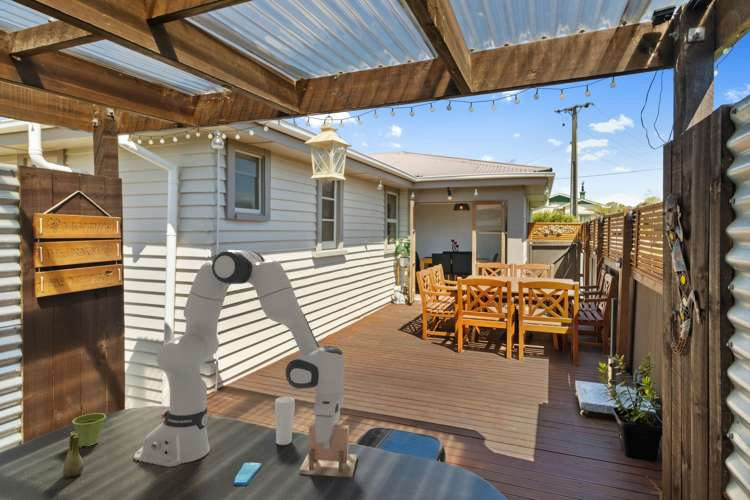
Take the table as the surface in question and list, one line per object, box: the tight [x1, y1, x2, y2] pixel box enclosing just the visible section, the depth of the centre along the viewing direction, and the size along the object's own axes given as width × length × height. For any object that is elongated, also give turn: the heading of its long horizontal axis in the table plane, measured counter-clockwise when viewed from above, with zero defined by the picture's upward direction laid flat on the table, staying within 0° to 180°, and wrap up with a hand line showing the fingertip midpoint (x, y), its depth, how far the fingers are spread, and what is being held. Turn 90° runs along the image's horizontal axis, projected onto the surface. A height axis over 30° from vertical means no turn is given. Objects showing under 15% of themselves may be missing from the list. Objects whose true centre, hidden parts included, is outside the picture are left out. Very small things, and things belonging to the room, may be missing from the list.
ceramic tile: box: [307, 422, 350, 462], centre depth 127 cm, size 12×2×10 cm, turn 85°
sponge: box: [233, 462, 263, 486], centre depth 123 cm, size 2×12×6 cm
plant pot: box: [71, 412, 107, 446], centre depth 141 cm, size 9×9×9 cm
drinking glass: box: [274, 396, 296, 446], centre depth 145 cm, size 7×7×15 cm
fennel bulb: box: [62, 431, 85, 478], centre depth 121 cm, size 6×5×12 cm
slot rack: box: [298, 445, 358, 478], centre depth 130 cm, size 16×12×7 cm
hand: (328, 445), depth 127 cm, fingers closed on ceramic tile, 2 cm apart
